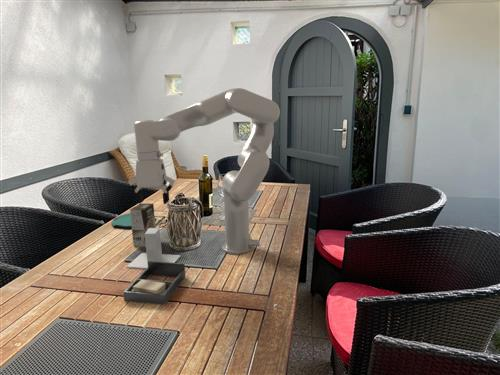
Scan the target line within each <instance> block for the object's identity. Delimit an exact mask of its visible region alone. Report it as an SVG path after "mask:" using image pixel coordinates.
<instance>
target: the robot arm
mask: <svg viewBox="0 0 500 375" xmlns="http://www.w3.org/2000/svg"><path fill="white" fill-rule="evenodd" d="M234 114H240V115H242V116H245V117H247V118H250V119H251V123H252V129H251V132H250V135H248V136H249V137H248V139H247V140H246V142H245V144H244V145H243V147H242V149H241V150H240V152H239V154H238V156H237V163H238V166H239V167H240V168H239V170H231V171H228V172H227V173H226V174H224V176H223V178H222V182H221V189H222V195H223V205H224V209H223V210H224V212H223V213H224V234H225V235H224V236H225V238H224V239H225V241H224V242H223V243H222V245H221V250H222V251H223V252H225V253H227V254H231V255H241V254H243V255H244V254H247V253H249V252H251V251H253V249H254V247H260V246H261V245H260V244H261V242H260V240H258V239H252V238H251V237H252V236H251V235H250V224H249V218H250V216H249V210H250V209H249V200H251V199H252V198H253V197H254V195H255V194H256V193H257V190H258V189H259V187H260V186H261V184H262V182H263V180H264V178H265V176H266V175H267V174H268V171H269V168H270V163H271V162H270V157H269V155H268V154H267V151H268V149H269V148H270V146H271V143H272V141H273V138H274V135H275V133H274V132H275V129H274V128H275V126H274V123H276V121H278V119H279V118H280V115H281V110H280V107H279V105H278V104H277V103H276V101H274V100H272V99H269V98H267V97H264V96H262V95H260V94H257V93H255V92H253V91H250V90H249V89H248V90H247V89H245V88H243V87H238V88H237V87H235V88H234V87H233V88H230V89H226V90H225V91H222V92H220V93H218V94H216V95H213V96H211V97H209V98H206V99H204V100H201V101H198V102H197V103H194V104H193V105H190V106H188V107H185V108H183V109H181V110H179V111H175V112H174V113H171V114H169V115H165V116H164V117H162V118H161V119H159V120H153V119H151V120H150V119H143V120H142V119H141V120H137V121H135V122H134V125H133V126H134V127H133V128H134V134H135V135H134V136H135V144H136V155H137V160H136V162H135V176H134V177H131V178H130V179H128V180H127V182H128V184H129V185H130V188H131V189H132V190H133V191H134V193H136V201H137V203H138V204H140V203H141V204H142V203H143V202H144V201H145V200H144V191H143V190H142V189H143V188H144V189H160V190H161V191H162V192H163V193H162V202H163V204H164V205H166V204H167V203H169V201H170V191H171V190H172V188H173V187H174V184H175V182H176V180H175V179H174V178H172V177H169V176H168V175H167V173H166V172H167V171H166V166H165V163H164V160H163V158H162V157H164V153H163V152H161V150H160V147H159V146H160V145H159V141H162V142H163V141H164V142H172V141H175V140H177V139H178V138H179V137H180V136H181V133H182V132H185V131H187V130H190V129H192V128H196V127H204V126H208V125H211V124H214V123H216V122H218V121H220V120H222V119H224V118H227V117H229V116H231V115H234ZM135 182H136V183H135ZM168 183H169V184H168ZM167 184H168V185H167Z"/></svg>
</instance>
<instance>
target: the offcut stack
mask: <svg viewBox="0 0 500 375" xmlns="http://www.w3.org/2000/svg"><path fill="white" fill-rule="evenodd" d="M149 280H150V279H146V280H141V281H139V282H138V283H137V284H136V285H135V286H133V290H132V292H142V293H154V294H164V293H165V292H166V290H165V287H166V285H165V283H162V282H155V281H149Z"/></svg>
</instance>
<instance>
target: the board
mask: <svg viewBox="0 0 500 375" xmlns="http://www.w3.org/2000/svg"><path fill="white" fill-rule="evenodd" d="M180 258H181V254H180V255H179V254H168V253H167V254H166V253H162V258H161V260H160V262H169V263H175V262H176V263H177V262H178V260H179V259H180ZM126 268H127V269H137V270H138V269H139V270H146V269H147V268H148V263H147V253H146V252H141V253H140V254H139V255H138V256H137V257H135V258H134V259H133V260H132V261H131V262H130V263H129V264H128V265H126Z"/></svg>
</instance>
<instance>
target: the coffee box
mask: <svg viewBox="0 0 500 375" xmlns="http://www.w3.org/2000/svg"><path fill="white" fill-rule="evenodd" d="M129 211H130V212H129V213H131V224H132V227H131V233H132V234H131V235H132V244H133V247H141V248H142V247H143V248H146V243H145V233H146V231H147V230H148V228H156V226H155V224H156V220H155V219H156V218H155V217H156V216H155V206H154V203H142V202H141V203H138V204H137V205H136V206H135V205H134V206H133V207H132V208H130V209H129Z"/></svg>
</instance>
